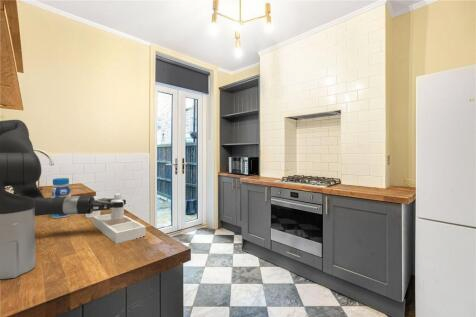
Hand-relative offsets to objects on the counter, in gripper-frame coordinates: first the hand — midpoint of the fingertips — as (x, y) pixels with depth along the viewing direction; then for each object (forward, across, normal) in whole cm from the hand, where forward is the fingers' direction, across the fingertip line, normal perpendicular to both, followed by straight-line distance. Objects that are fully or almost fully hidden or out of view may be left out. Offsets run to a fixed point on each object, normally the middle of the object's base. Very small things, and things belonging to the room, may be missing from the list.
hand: (124, 203), depth 98 cm
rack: (-2, 0, +12) cm, 12 cm away
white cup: (-20, +28, +12) cm, 37 cm away
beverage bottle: (-36, +32, +12) cm, 50 cm away
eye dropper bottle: (-3, 0, +7) cm, 7 cm away
